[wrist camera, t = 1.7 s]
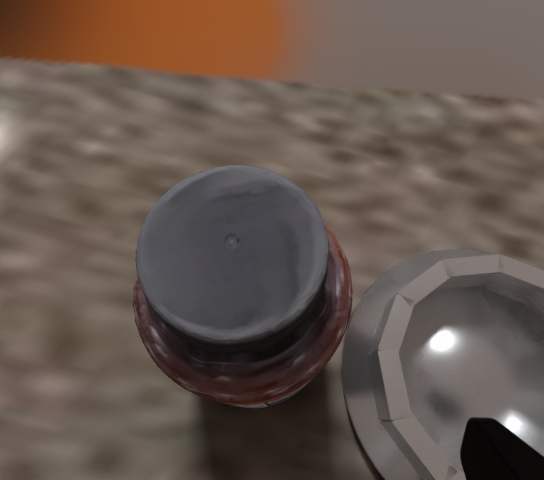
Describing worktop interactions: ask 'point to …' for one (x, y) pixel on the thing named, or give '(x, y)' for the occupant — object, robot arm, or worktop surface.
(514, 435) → the robot arm
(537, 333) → the faceted metal ring
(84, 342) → the worktop surface
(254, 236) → the supplement bottle
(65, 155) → the worktop surface
